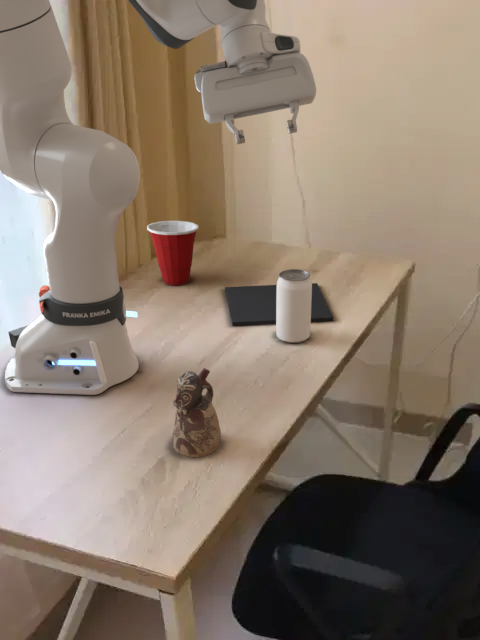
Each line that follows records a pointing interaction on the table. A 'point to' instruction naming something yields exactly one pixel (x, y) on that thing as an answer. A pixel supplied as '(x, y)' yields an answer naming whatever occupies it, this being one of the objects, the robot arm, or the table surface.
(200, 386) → the figurine
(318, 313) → the desk mat
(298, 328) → the can
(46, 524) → the table surface
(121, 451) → the table surface
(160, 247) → the plastic cup
